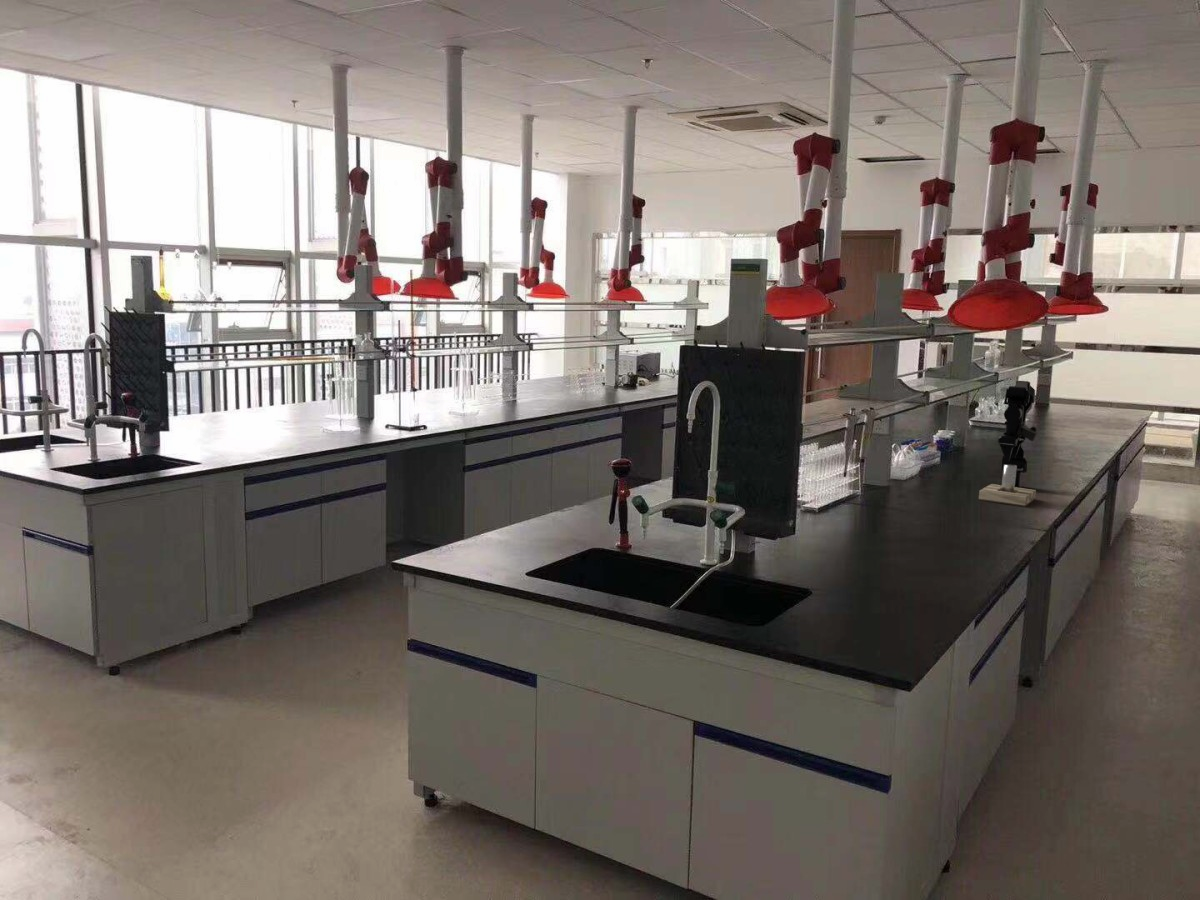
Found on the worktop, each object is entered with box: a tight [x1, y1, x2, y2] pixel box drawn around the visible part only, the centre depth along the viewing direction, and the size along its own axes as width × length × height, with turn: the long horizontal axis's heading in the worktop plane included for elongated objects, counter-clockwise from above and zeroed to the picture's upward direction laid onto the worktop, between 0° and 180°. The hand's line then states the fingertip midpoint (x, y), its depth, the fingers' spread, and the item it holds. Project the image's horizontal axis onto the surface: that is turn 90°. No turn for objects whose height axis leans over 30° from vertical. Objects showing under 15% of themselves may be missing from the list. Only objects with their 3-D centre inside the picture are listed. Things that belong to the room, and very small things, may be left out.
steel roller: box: [1001, 464, 1017, 493], centre depth 343 cm, size 4×4×12 cm
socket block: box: [978, 483, 1037, 508], centre depth 344 cm, size 16×16×4 cm
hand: (1010, 459), depth 354 cm, fingers open, 9 cm apart
